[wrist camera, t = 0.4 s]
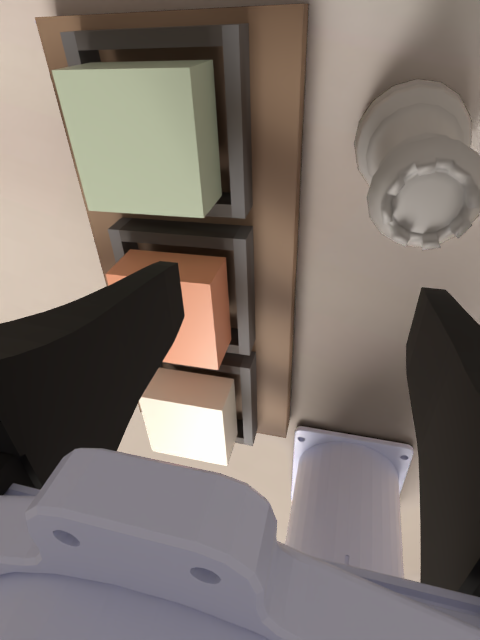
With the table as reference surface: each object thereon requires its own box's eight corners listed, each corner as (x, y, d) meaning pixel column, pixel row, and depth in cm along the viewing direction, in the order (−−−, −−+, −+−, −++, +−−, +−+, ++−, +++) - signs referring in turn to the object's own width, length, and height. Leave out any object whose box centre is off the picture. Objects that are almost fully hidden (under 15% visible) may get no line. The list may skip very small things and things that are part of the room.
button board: (289, 421, 30) (282, 456, 28) (148, 397, 33) (131, 427, 30) (308, 3, 16) (297, 3, 14) (56, 16, 18) (10, 18, 16)
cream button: (237, 433, 28) (227, 466, 26) (167, 420, 29) (152, 450, 27) (234, 378, 25) (222, 410, 23) (155, 367, 26) (137, 396, 24)
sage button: (221, 195, 18) (203, 218, 16) (117, 189, 19) (88, 210, 17) (212, 59, 15) (189, 67, 13) (89, 62, 16) (51, 70, 14)
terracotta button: (231, 339, 23) (218, 370, 21) (147, 328, 24) (127, 356, 22) (226, 257, 20) (210, 284, 18) (130, 249, 21) (105, 274, 19)
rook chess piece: (332, 141, 19) (312, 209, 12) (419, 49, 16) (449, 77, 10) (400, 209, 20) (413, 304, 13) (492, 133, 17) (562, 207, 11)
